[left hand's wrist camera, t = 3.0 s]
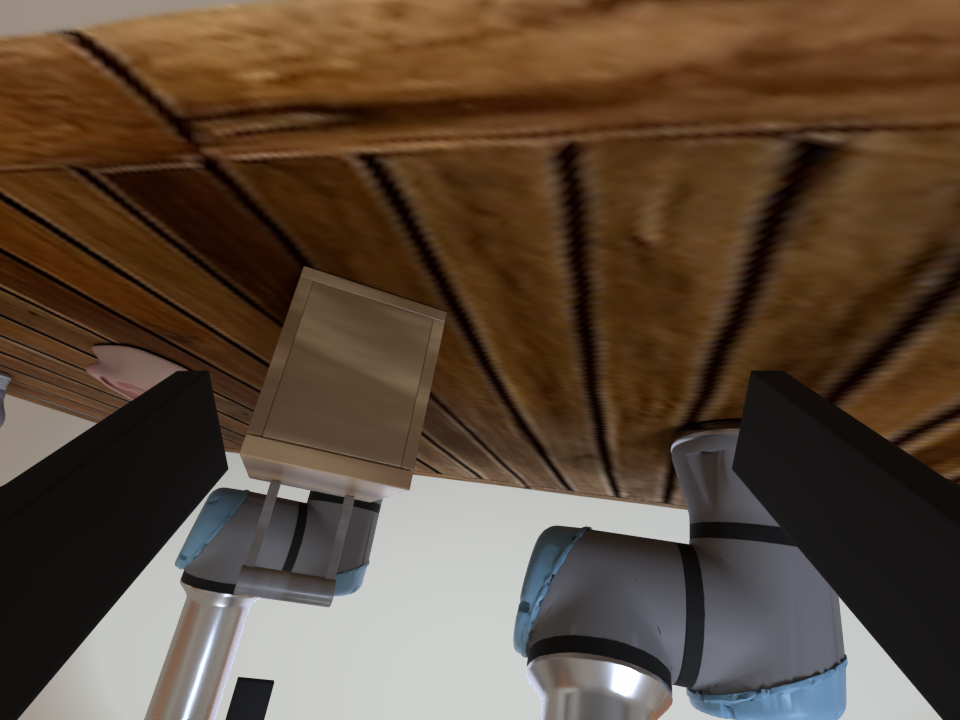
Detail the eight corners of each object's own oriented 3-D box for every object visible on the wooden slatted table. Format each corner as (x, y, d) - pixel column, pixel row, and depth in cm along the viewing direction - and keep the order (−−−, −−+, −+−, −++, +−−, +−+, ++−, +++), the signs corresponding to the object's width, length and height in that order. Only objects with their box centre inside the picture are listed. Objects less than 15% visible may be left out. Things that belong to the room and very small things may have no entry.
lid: (374, 488, 43) (346, 606, 40) (253, 463, 40) (212, 587, 37) (413, 471, 31) (378, 637, 28) (246, 433, 28) (184, 613, 25)
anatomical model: (85, 371, 51) (204, 408, 58) (103, 335, 52) (216, 376, 59) (65, 387, 60) (170, 417, 67) (81, 357, 61) (181, 389, 68)
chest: (404, 365, 47) (376, 487, 42) (295, 334, 44) (253, 461, 40) (447, 311, 35) (413, 470, 31) (304, 265, 32) (246, 432, 28)
